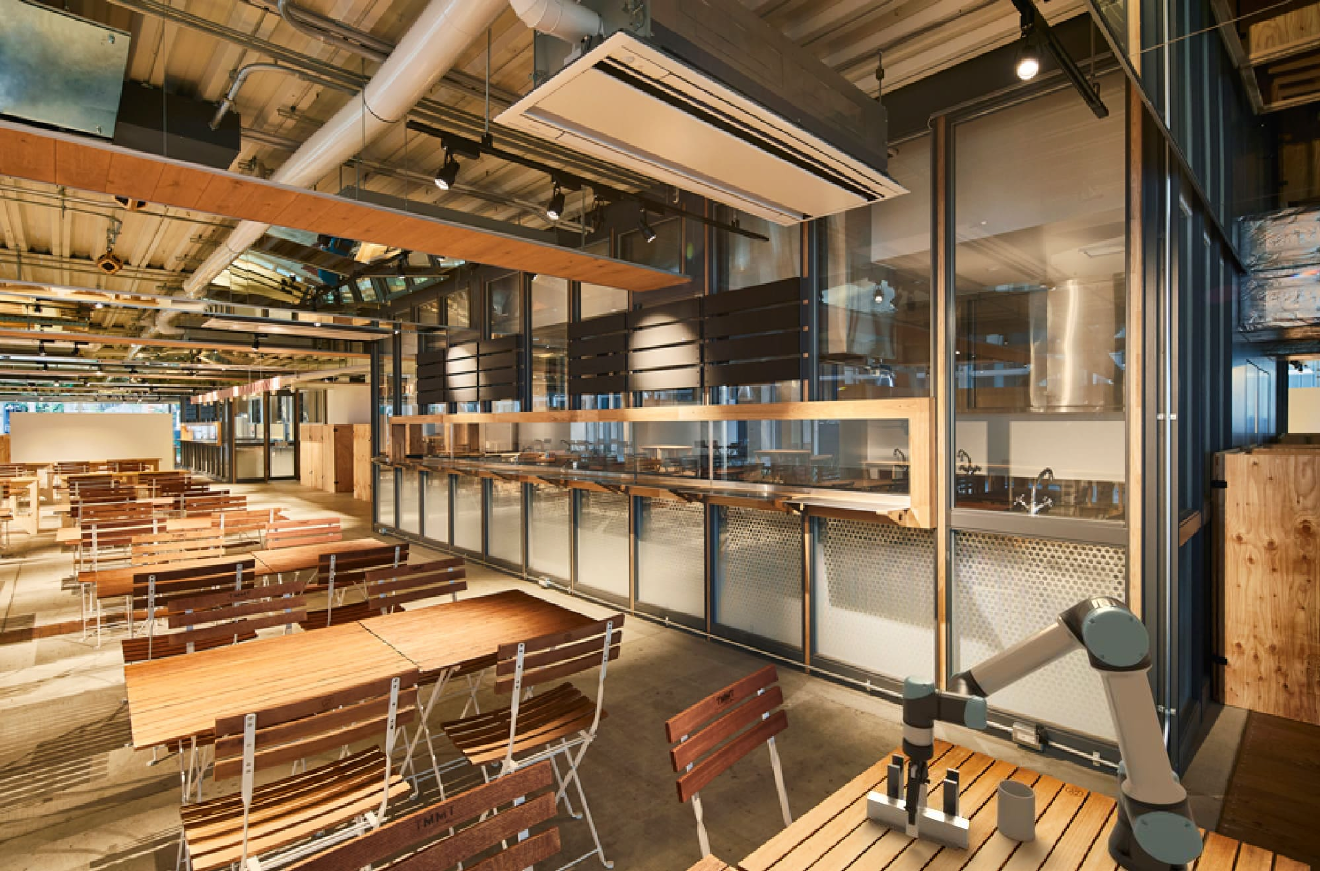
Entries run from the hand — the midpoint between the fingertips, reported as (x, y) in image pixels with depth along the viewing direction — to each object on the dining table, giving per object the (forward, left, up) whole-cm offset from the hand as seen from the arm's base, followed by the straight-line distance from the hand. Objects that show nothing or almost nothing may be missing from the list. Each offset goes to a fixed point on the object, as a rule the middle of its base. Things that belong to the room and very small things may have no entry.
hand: (916, 821), depth 162 cm
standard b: (+7, -9, -2) cm, 12 cm away
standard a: (-7, -9, -2) cm, 12 cm away
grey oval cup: (-21, -15, -2) cm, 26 cm away
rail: (0, 0, -2) cm, 2 cm away
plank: (0, 0, -2) cm, 2 cm away
